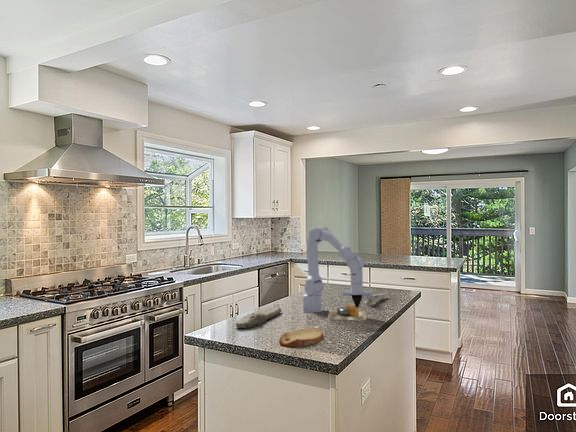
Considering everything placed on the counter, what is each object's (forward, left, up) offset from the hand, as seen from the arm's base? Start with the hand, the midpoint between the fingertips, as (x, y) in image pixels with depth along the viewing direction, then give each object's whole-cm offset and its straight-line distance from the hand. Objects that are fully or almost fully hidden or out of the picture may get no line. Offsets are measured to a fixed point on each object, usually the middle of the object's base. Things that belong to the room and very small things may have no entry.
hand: (357, 310), depth 186 cm
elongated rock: (-46, -9, -4) cm, 47 cm away
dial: (-4, +1, -2) cm, 5 cm away
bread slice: (-22, -35, -4) cm, 42 cm away
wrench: (+10, +35, -4) cm, 37 cm away
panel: (-5, +2, -4) cm, 6 cm away
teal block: (-1, -6, -3) cm, 6 cm away
